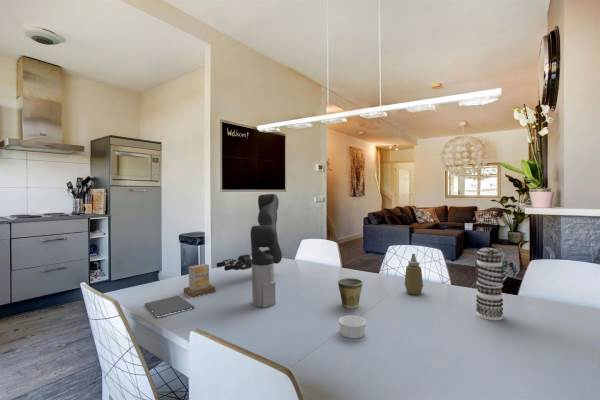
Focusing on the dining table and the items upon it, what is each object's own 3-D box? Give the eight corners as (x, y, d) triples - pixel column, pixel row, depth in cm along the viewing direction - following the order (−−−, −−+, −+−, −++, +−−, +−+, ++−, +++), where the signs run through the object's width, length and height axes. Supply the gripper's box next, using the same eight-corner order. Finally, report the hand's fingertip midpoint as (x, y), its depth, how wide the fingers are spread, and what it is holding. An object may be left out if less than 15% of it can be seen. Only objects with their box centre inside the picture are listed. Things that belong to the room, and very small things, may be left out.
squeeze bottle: (420, 290, 143) (420, 252, 143) (425, 295, 135) (425, 255, 135) (402, 289, 144) (402, 252, 144) (406, 295, 136) (406, 255, 136)
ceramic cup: (362, 310, 120) (362, 285, 119) (337, 309, 122) (337, 284, 121) (362, 299, 132) (362, 276, 132) (339, 298, 134) (339, 275, 134)
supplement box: (194, 296, 140) (194, 267, 140) (188, 294, 143) (188, 266, 143) (209, 291, 147) (209, 264, 146) (203, 289, 149) (203, 263, 149)
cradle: (215, 292, 145) (215, 286, 145) (190, 297, 138) (190, 292, 137) (207, 287, 152) (207, 282, 152) (183, 293, 144) (183, 288, 144)
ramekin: (347, 325, 107) (347, 313, 107) (370, 332, 102) (370, 319, 101) (333, 334, 100) (333, 321, 100) (357, 342, 95) (357, 328, 95)
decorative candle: (490, 322, 108) (490, 252, 107) (469, 312, 116) (469, 247, 116) (510, 319, 110) (510, 250, 109) (488, 309, 119) (488, 246, 118)
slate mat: (194, 308, 125) (194, 306, 125) (157, 318, 115) (157, 315, 115) (178, 297, 138) (178, 295, 138) (144, 305, 129) (144, 303, 129)
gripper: (241, 252, 168) (214, 257, 157) (255, 256, 157) (227, 262, 147) (241, 265, 168) (214, 271, 158) (256, 270, 158) (227, 277, 147)
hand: (220, 266), depth 152 cm, fingers open, 8 cm apart
